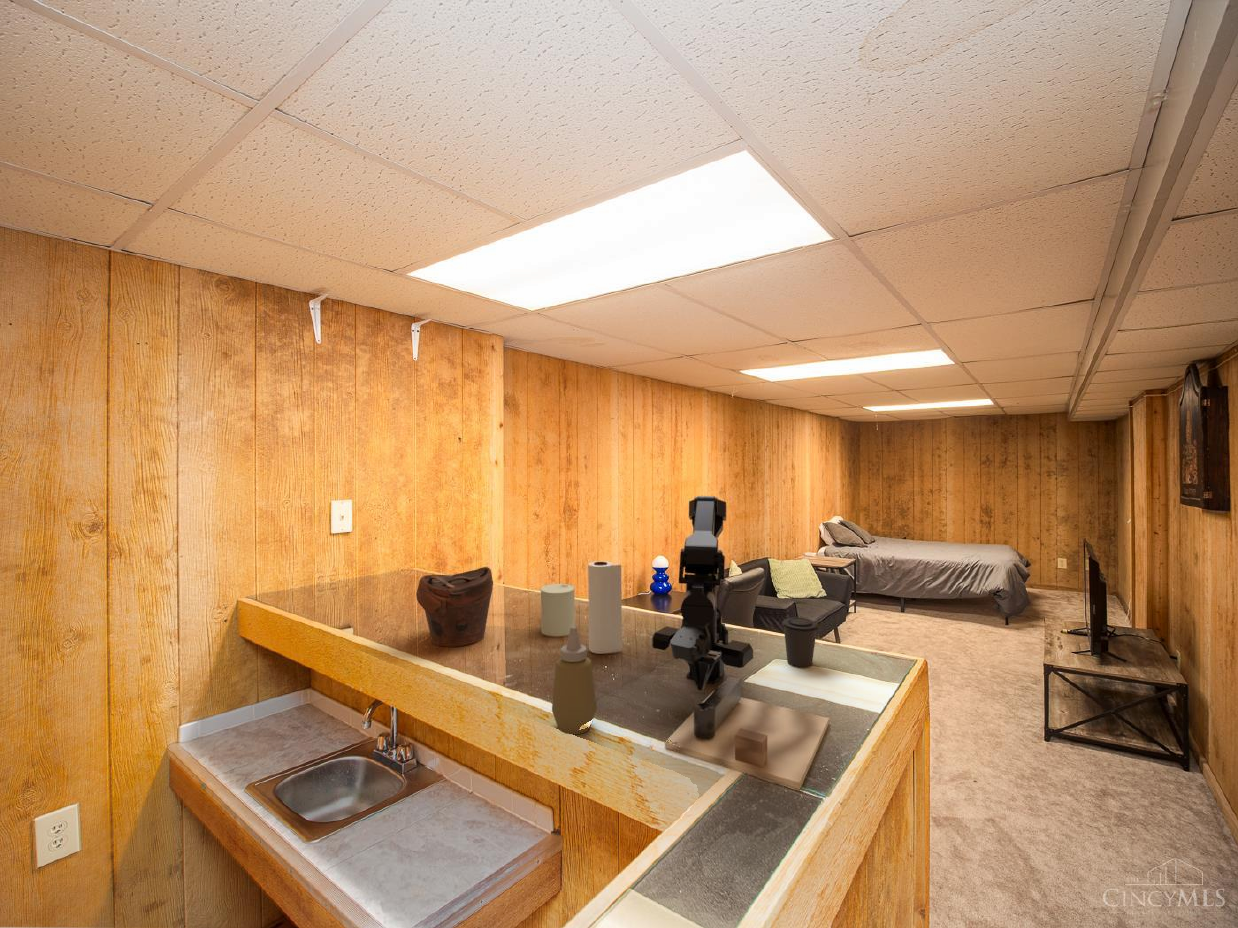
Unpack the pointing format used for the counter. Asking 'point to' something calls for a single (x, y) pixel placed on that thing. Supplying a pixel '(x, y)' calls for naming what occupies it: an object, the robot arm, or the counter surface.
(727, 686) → the swing bar
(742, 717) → the tan flat square sheet
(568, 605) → the can
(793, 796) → the counter surface
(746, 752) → the block
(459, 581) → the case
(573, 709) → the squeeze bottle
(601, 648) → the paper towel roll
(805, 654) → the coffee cup
